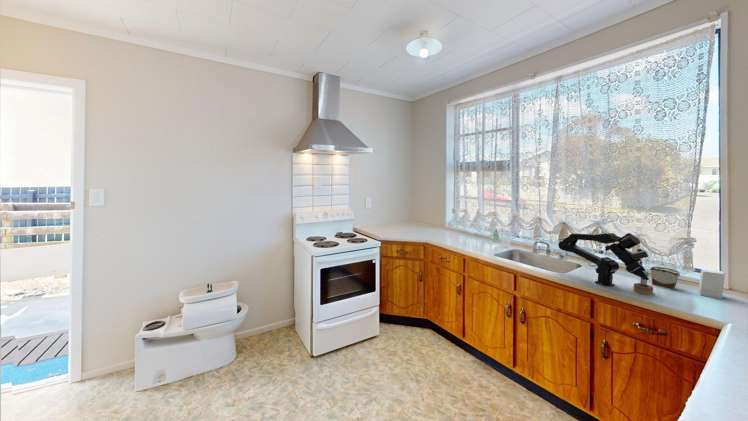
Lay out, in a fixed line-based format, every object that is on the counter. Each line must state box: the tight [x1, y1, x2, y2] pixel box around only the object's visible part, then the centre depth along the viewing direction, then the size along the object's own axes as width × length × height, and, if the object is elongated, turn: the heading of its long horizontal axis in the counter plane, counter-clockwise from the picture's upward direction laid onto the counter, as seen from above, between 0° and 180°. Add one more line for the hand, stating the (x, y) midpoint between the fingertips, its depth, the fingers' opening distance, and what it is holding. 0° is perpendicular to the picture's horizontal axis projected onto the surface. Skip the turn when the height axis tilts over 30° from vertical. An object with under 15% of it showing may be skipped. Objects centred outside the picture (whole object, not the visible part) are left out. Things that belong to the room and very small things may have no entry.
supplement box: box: [698, 268, 726, 300], centre depth 148 cm, size 7×7×13 cm
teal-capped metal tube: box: [639, 270, 649, 287], centre depth 151 cm, size 2×2×11 cm
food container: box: [649, 266, 681, 291], centre depth 160 cm, size 12×6×10 cm, turn 22°
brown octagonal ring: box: [633, 282, 654, 295], centre depth 152 cm, size 7×7×4 cm
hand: (647, 277), depth 150 cm, fingers open, 9 cm apart
